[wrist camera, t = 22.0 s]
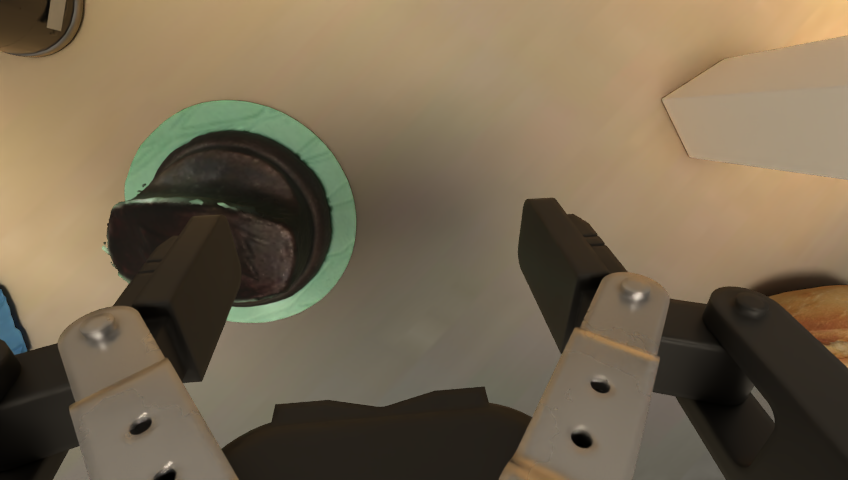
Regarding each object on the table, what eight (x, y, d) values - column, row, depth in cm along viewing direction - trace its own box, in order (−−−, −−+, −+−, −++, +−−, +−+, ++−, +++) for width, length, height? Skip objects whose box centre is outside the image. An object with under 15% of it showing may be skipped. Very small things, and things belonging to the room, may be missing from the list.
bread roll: (708, 286, 43) (774, 323, 35) (863, 259, 43) (964, 291, 35) (707, 373, 45) (769, 425, 38) (854, 349, 45) (946, 396, 38)
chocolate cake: (149, 343, 41) (76, 122, 37) (338, 284, 50) (299, 99, 45) (144, 421, 29) (32, 97, 24) (399, 323, 37) (355, 71, 32)
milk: (750, 119, 39) (1166, 124, 18) (687, 158, 40) (1015, 208, 18) (723, 56, 37) (1142, -22, 16) (658, 98, 38) (979, 76, 17)
